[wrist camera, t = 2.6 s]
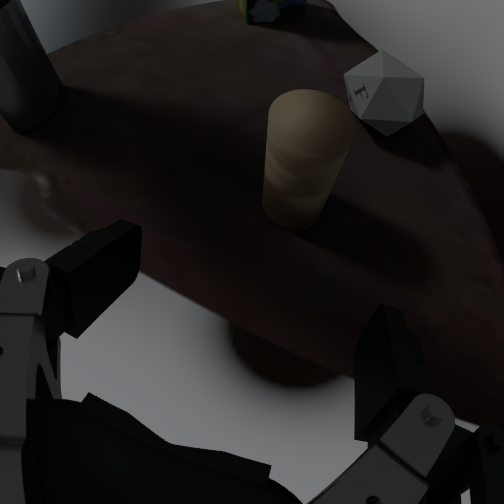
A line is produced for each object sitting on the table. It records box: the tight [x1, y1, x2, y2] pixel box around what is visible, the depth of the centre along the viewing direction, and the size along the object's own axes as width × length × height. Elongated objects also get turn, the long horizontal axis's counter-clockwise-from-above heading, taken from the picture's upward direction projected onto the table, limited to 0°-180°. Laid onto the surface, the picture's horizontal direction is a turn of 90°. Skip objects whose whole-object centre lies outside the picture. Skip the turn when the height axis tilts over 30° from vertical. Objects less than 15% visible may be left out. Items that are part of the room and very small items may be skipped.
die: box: [344, 50, 424, 137], centre depth 28 cm, size 8×9×10 cm
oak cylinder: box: [262, 89, 356, 231], centre depth 23 cm, size 5×5×11 cm
